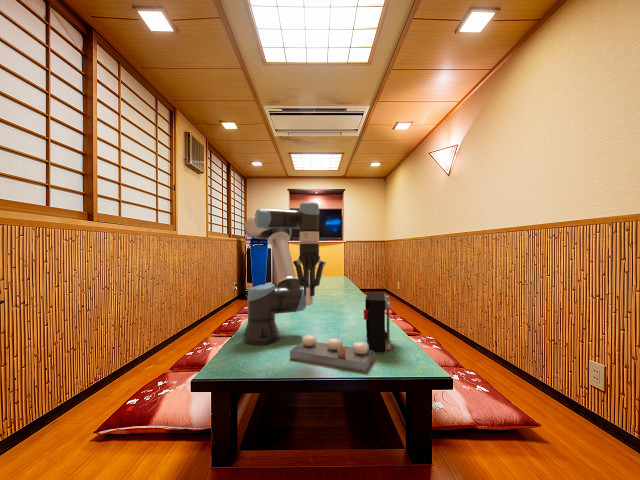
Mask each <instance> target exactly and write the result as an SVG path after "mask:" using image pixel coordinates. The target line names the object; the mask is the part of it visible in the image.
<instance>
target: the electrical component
mask: <svg viewBox="0 0 640 480" xmlns="http://www.w3.org/2000/svg"><path fill="white" fill-rule="evenodd" d="M364 301H365V302H364V303H365V305H364V306H365V309H363V320H365V326H366V328H365V329H366V335H365V337H366V341H368V350H374V353H377V354H386V353H387V352H388V350H391V349H392V347H391V343H390V341H391V340H390V337H391V336H390V307H391V302H390V295H387V294H386V293H384V292H369V291H368V292H366V297H365V300H364ZM385 314H386V315H385Z"/></svg>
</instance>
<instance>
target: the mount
mask: <svg viewBox="0 0 640 480" xmlns="http://www.w3.org/2000/svg"><path fill="white" fill-rule="evenodd" d="M343 347H345V358H339V357H338V349H337V350H331V349H328V348H327V342H326V343H325V342H320V341H318V342H317V341H316V344H315V345H313V346H312V347H310V346H305V345H303V341H302V342H300V343H299V344H297V345H296V346H294V347H293V348H291V349H290V350H289V359H290V360H295V361H299V362H300V361H301V362H306V363H311V364H317V365H323V366H329V367H334V368H339V369H345V370H352V371H356V372H362V373H367V372H368V370H369V368H370V366H371V365H372V363H373V362H374V360H375V352H374V350H369V349H368V352H367V353H365V354H363V355H362V354H358V353H355V352H354V351H353V346H346V345H343Z"/></svg>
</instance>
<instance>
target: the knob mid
mask: <svg viewBox="0 0 640 480" xmlns="http://www.w3.org/2000/svg"><path fill="white" fill-rule="evenodd" d="M326 341H327V342H326V343H327V348H328V349H331V350H337V349H338V347H340V342H341V339H339V338H338V337H337V338H336V337H334V338H333V337H331V338H328V339H326Z"/></svg>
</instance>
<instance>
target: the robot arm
mask: <svg viewBox="0 0 640 480" xmlns="http://www.w3.org/2000/svg"><path fill="white" fill-rule="evenodd" d="M319 207H320V206H319V204H318V203H317V202H308V201H306V202H301V203H300V204H299V208H298V209H297V210H294V209H293V210H292V209H272V208H258V209H256V210H255V214H254V216H252V217H249V218H248V219H246V220H245V222H244V225H243V228H244V231H245V234H247V235H248V236H249V237H250V238H253V239H258V240H267V243H268V244H269V245H270V246H271V250H272V255H273V261H274V266H275V270H276V275H277V281H278V282H277V284H276V286H275V284H274V283H268V284H267V283H266V284H258V285H254V286H253V287H250V288H249V290H248V292H247V300H246V301H247V324H246V325H245V327H246V328H245V330H244V333H243V342H244V343H245V344H248V345H254V346H259V345H268V344H269V345H270V344H273V343H275V342H277V341H279V340H280V332H279V330H278V326H277V322H276V315H277V314H278V315H279V314H287V313H298V312H303V311H304V310H305V309H306V307H307V306H311V305H313V304H314V303H313V299H314V298H313V297H314V296H315V289H316V287H318V286H320V284H321V279H322V274H323V270H324V267H325V266H326V261H325V260H323V259H321V256H320V244H319V242H320V231H319V230H320V208H319ZM292 229H294V230H299V243H300V244H299V256H298V259H296V260H293V258H292V254H291V250H290V246H289V241H290V239H291V237H292V232H293V230H292ZM317 265H318V266H317ZM316 266H317V268H316ZM316 269H317V270H316ZM295 271H296V272H295Z"/></svg>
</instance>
